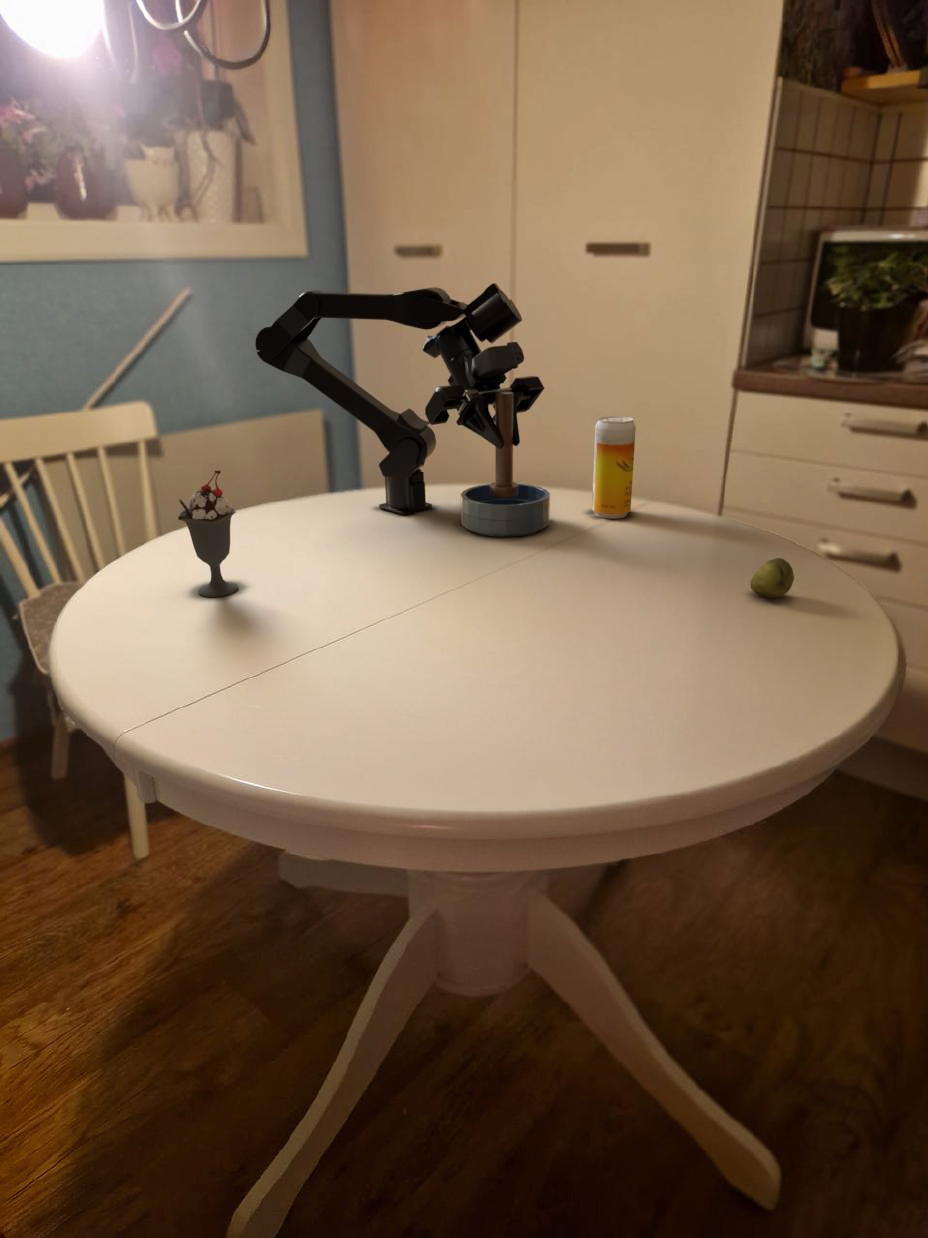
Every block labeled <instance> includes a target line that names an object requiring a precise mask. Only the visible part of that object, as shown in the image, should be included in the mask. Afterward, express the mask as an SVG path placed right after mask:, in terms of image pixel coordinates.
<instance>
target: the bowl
mask: <svg viewBox="0 0 928 1238" xmlns="http://www.w3.org/2000/svg"><path fill="white" fill-rule="evenodd" d="M490 484H491V483H487V484H480V485H476V486H472V487H468V488H466V489H464V490H463V491H462V492H461V493H460V523H461V525H462V526H463V528H466V529H467V530H469V531H471V532H473V533H475V534H478V535H482V536H486V537H487V536H489V537H498V538H510V537H522V536H527V535H532V534H535V533H537V532H539V531H542V530H543V529H545V528H547V526H549V524H550V513H551V512H550V511H551V509H550V507H551V493H550V492H549V490H547V489H545V488H543V487H541V486H537V485H532V484H526V483H517V484H518V485H519V494H518V495H517V496H515V497H511V498H497V497H492V496H490V494H489V485H490Z"/></svg>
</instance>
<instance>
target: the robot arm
mask: <svg viewBox="0 0 928 1238" xmlns="http://www.w3.org/2000/svg"><path fill="white" fill-rule="evenodd" d="M322 319H341V320H343V319H345V320H373V321H374V320H375V321H377V320H378V321H389V322H393V323H397V324H400V325H403V326H407V327H410V328H415V329H420V330H425V331H427V330H433V329H436V328H439V327H441V326H444V325H445V324H446V323H447V322H455V321H457V320H459V321H457V322H456V323H454V324H451V325H446V326H445V327H443V328H442V329H440V331H439V332H437V333H436V334H435V335H427V336H426V341H425V342H424V344H423V347H422V352H424V354H426V355H428V356H429V357H431V358H433V359H437V358H438V357H441V358H442V361H443V362H444V364H445V367H446V369H447V371H448V372H449V374H450V376H449V378H448V379H447V382H448V384H449V385H440V386H436V388H435V390H434V392H433V393H432V395H431V396H430V399H429V400H428V402H427V404H426V405H425V408H424V413H425V417H426V419H427V420H425V419H422V418H421V417H420V416H419V415H418V414H417V413H416V412H415V411H414V410H413V409H412V408H407V409H405V410H404V411H402V412H401V413H400V412H397V411H395V410H393V409H391V408H389V407H388V406H387V405H385V404H384V403H383V402H381V401H380V400H379V399H377V398H376V397H375V396H373V395H372V394H370V392H368V391H367V390H366V389H364V388H363V387H361V386H360V385H359V384H357V383H356V382H354V381H353V380H352V379H351V378H349V377H348V376H347V375H345V374H344V373H343V372H342V371H340V370H339V369H337V368H336V367H335V366H333V365H332V364H331V363H329V362H328V361H327V360H325V359H324V358H323V357H322V356H321V355H320V354H319V352H318V350H317V349H316V347H315V346H314V344H313V342H312V341H311V340H310V339H309V337H310V336H312V334H313V333H314V331H315V330H316V328H317V327H318V325H319V323H320V322H321V321H322ZM522 321H523V317H522V315H521V313H520V311H519V309H518V308H517V306H516V304H515V303H514V301H513V300H512V299H510V298H509V297H508V296H507V295H506V293H505V292H504V291H503V290H502V289H501V288H500V286H499V285H498V284H497V282H496V283H495V282H493V283H491V284H490V285H489V286H487V287H486V288H485V289H484V290H483V292H482V293H481V294H480V295H478V296H477V297H476V298H474V299H473V300H472V301H471V302H470V303H465V302H464V301H463V302H462V301H458V300H455V299H453V298H451V296H450V295H449V294H448V293H447V291H445V290H444V289H443V288H442V287H437V286H434V287H426V288H420V289H414V290H407V291H402V292H396V293H368V292H367V293H366V292H365V293H360V292H328V291H322V290H308V291H304V292H303V293H301V294H300V295H299V297H298V298H297V300H296V301H295V302H294V303H293V304H292V305H291V306H290V307H289V308H288V309H287V310H286V311H285V312H283V313H282V314H281V315H280V316H279V317H277V319H276V320H275V321H274V322H273V323H272V325H270V326H264V327H263V328H262V329H260V330H259V331H258V333H257V335H256V338H255V350H256V354H257V356H258V358H259V359H260V360H261V361H262V362H263V363H265V364H266V365H270V366H271V367H273V368H275V369H277V370H278V371H281V372H283V373H286V374H288V375H292V376H295V377H296V378H297V377H298V378H301V379H302V380H304V381H305V382H307V383H308V384H309V385H310V386H312V387H313V388H314V389H316V390H317V391H319V392H320V393H321V394H322V395H324V396H325V397H327V398H328V399H329V400H330V401H332V402H333V403H335V404H336V405H337V406H339V407H340V408H341V409H343V410H344V411H345V412H346V413H348V414H349V415H350V416H352V417H354V418H355V419H356V420H358V421H359V422H360V423H362V424H363V425H364V426H366V427H367V428H368V429H370V430H371V432H373V433H374V434H375V435H376V437H377V438H378V440H379V441H380V443H381V444H382V446H383V448H384V449H385V450H386V451H387V452H388V454H387V455H386V456H385V457H384V458H383V459H382V460H381V461H380V462H379V463H378V468H379V470H380V472H381V475H382V477H384V485H385V486H384V488H385V502H383V503H379V505H378V508H379V509H382V510H385V511H388V512H392V513H395V514H400V515H408V514H411V513H415V512H419V511H422V510H426V509H430V508H433V504H432V503H430V502H426V501H427V500H426V482H425V476H424V474H425V473H424V471H422V469H420V468H422V467H423V466H425V463H426V460H427V459H428V458H429V457H430V456H431V455H432V454H433V453H434V451H435V449H436V446H437V439H436V434H435V432H434V430H433V429H432V428H431V427H430V426H434V425H442V424H447V422H448V420H449V418H450V414H449V412H448V411H449V410H456V411H457V414H458V418H457V420H456V421H455V424H456V425H457V426H462V427H464V428H466V429H467V430H470V431H471V432H473V433H475V434H477V435H478V436H480V437H481V438H483V439H484V440H486V441H487V442H488V443H490V444H491V445H493V446H494V447H495V446H496V447H497V448H499V449H502V448H503V446H504V442H503V439H502V437H501V434H500V432H499V430H498V428H497V426H496V425H495V414H494V415H493V416H492V415H491V413H490V408H489V406H491V407H492V408H493V410H494V411H495V393H496V392H513V447H518V446H519V444H521V438H520V429H519V422H518V414H519V413H520V414H521V413H526V412H527V411H529V410H530V409H531V408H532V406H533V405H534V404H535V402H537V400H538V398H539V397H540V396H541V394H542V393H543V391H544V390H545V386H544V385H543V383H542V381H541V379H540V377H539V376H536V375H528V376H527V375H526V376H520V377H515V378H514V380H513V381H512V383H511V384H510V386H509V387H502V388H501V384H504V383H505V381H506V380H507V376H506V374H507V373H509V372H510V371H512V370H515V369H517V368H519V365H521V364H522V363H523V362H524V360H525V356H524V355H525V354H524V350H523V349H522V347H521V346H520V344H519V342H517V341H510V342H507V343H506V345H505V344H503V345H494V346H490V347H489V346H488V347H487V348H485V349H484V350H481V348H480V346H479V344H478V342H477V340H478V341H479V342H481V343H484V342H485V341H487V342H489V343H490V344H494V343H495V342H496V341H498V340H500V338H502V337H503V336H504V335H505V334H507V333H508V332H509V331H510V330H512V329H513V328H514V327H516V326H518V325H519V324H520V323H521V322H522ZM475 337H476V338H475ZM476 339H477V340H476ZM428 425H430V426H428Z"/></svg>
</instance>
